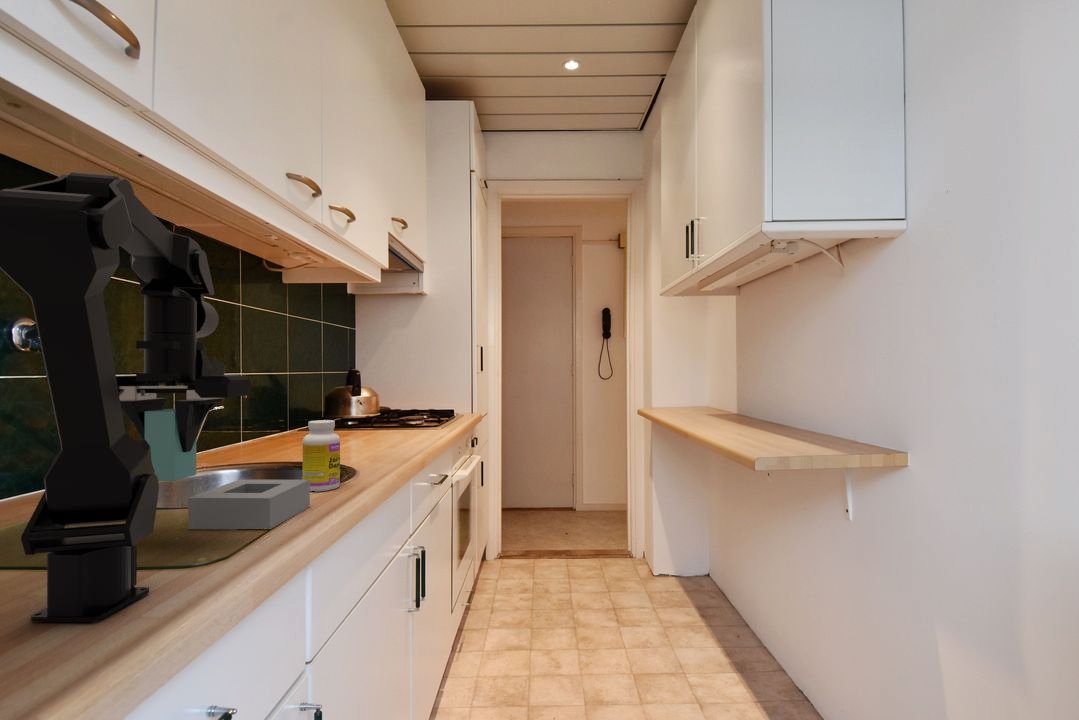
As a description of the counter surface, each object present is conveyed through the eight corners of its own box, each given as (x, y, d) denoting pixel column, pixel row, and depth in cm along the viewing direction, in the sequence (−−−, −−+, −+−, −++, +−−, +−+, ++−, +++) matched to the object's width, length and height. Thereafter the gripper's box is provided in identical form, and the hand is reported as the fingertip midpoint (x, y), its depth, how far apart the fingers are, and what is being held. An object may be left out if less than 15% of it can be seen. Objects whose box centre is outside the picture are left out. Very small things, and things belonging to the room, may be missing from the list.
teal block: (174, 481, 67) (174, 411, 67) (144, 481, 67) (144, 411, 67) (196, 474, 71) (196, 408, 71) (167, 474, 71) (167, 408, 71)
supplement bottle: (331, 492, 96) (331, 423, 96) (295, 492, 96) (295, 423, 97) (345, 484, 103) (345, 419, 103) (312, 484, 103) (312, 419, 103)
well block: (269, 529, 75) (269, 498, 75) (188, 529, 75) (188, 497, 75) (309, 506, 87) (309, 479, 87) (239, 506, 87) (239, 479, 87)
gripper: (272, 336, 77) (273, 442, 77) (150, 337, 78) (150, 442, 78) (224, 332, 66) (224, 456, 66) (81, 333, 67) (81, 455, 66)
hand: (171, 451), depth 69 cm, fingers closed on teal block, 4 cm apart
